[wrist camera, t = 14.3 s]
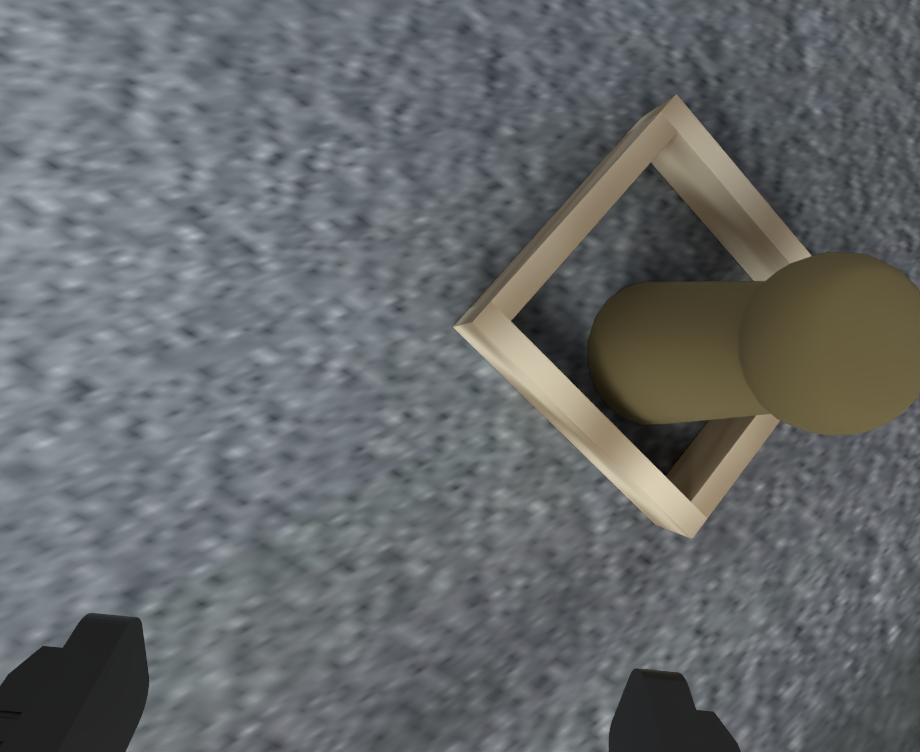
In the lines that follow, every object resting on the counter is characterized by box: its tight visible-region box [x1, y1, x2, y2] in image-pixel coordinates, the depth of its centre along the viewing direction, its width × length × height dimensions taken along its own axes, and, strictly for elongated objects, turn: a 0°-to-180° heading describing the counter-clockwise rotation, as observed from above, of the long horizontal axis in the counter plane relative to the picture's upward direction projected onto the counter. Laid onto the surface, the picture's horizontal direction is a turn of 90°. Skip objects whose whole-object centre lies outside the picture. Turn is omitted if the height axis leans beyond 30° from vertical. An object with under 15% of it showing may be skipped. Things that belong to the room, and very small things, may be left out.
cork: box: [588, 252, 920, 435], centre depth 23 cm, size 6×6×11 cm
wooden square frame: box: [453, 94, 811, 538], centre depth 21 cm, size 17×13×16 cm
